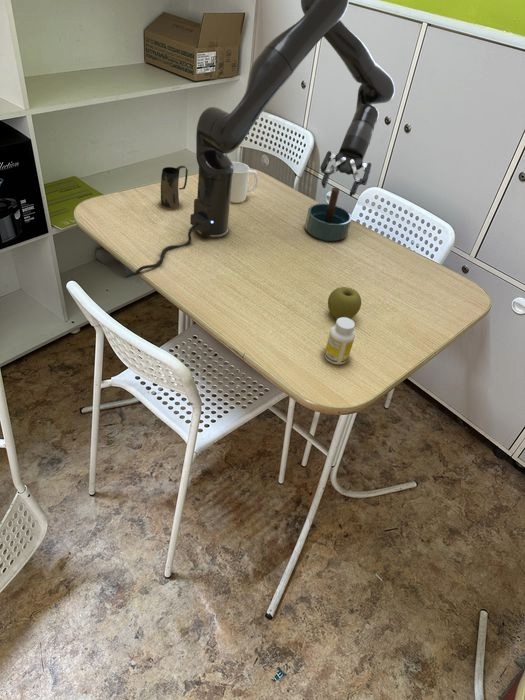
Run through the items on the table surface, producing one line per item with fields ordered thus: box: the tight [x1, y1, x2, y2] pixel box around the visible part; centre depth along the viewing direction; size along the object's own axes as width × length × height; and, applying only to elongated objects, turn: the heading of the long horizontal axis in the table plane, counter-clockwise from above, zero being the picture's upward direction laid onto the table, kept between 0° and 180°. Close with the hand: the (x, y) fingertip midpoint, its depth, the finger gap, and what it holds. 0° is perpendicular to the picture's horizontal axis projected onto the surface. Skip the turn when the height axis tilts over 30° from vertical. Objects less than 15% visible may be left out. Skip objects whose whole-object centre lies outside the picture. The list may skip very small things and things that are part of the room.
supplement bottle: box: [324, 317, 356, 365], centre depth 113 cm, size 5×5×10 cm
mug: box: [160, 165, 189, 211], centre depth 156 cm, size 8×6×12 cm
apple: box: [327, 286, 362, 320], centre depth 126 cm, size 8×8×7 cm
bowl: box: [304, 203, 352, 242], centre depth 158 cm, size 13×13×6 cm
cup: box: [230, 161, 259, 204], centre depth 167 cm, size 8×12×10 cm
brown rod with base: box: [325, 187, 340, 223], centre depth 156 cm, size 4×4×13 cm
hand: (337, 190), depth 154 cm, fingers open, 8 cm apart
